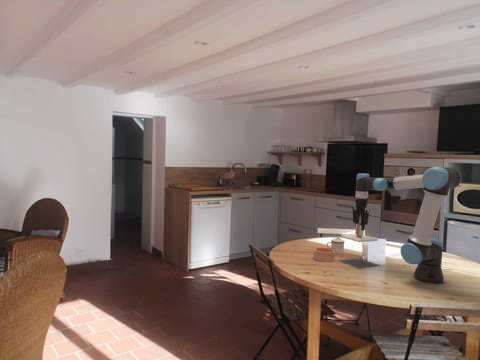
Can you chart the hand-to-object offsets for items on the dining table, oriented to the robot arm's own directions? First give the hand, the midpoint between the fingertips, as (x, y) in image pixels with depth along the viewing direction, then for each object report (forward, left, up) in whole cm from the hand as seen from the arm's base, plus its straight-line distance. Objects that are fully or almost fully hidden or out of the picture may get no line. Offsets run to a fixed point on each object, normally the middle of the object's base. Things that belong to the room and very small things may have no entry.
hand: (359, 234), depth 231 cm
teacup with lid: (+26, -5, -19) cm, 33 cm away
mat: (-1, -1, -19) cm, 19 cm away
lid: (0, 0, -3) cm, 3 cm away
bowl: (+14, +15, -19) cm, 28 cm away
